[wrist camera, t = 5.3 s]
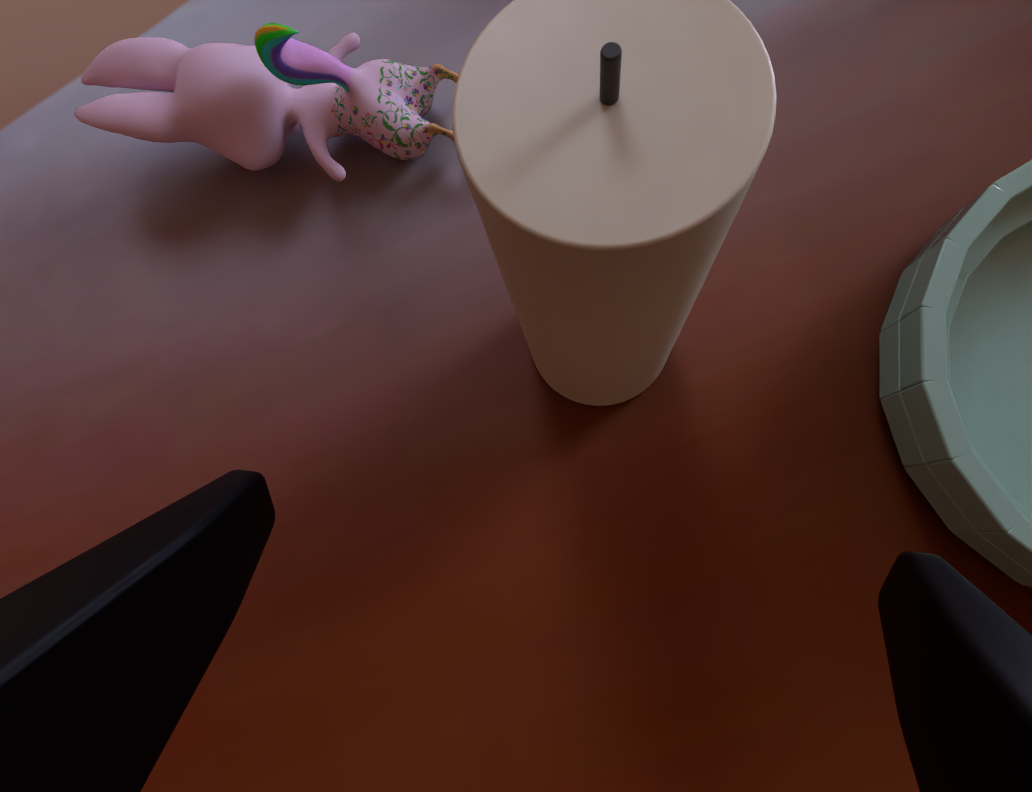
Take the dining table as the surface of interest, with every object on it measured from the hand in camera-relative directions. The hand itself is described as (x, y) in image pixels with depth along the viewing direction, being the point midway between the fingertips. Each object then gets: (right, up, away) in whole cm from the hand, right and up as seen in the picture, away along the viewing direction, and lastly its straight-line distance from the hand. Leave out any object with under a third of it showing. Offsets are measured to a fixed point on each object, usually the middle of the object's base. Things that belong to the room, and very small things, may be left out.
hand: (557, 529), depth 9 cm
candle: (+2, +4, +13) cm, 14 cm away
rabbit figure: (-10, +13, +17) cm, 23 cm away
